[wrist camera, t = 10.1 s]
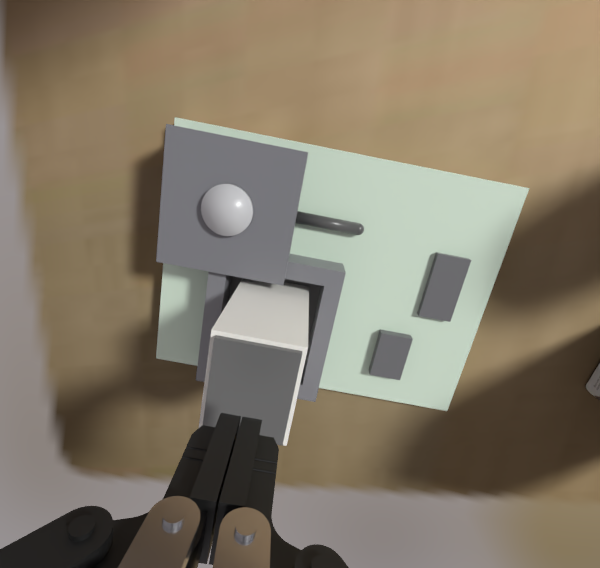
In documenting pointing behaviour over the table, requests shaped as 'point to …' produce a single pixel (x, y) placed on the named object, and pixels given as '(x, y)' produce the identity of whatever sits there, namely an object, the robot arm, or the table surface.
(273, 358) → the plug
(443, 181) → the board
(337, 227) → the grey button block
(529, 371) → the table surface
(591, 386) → the coffee box
